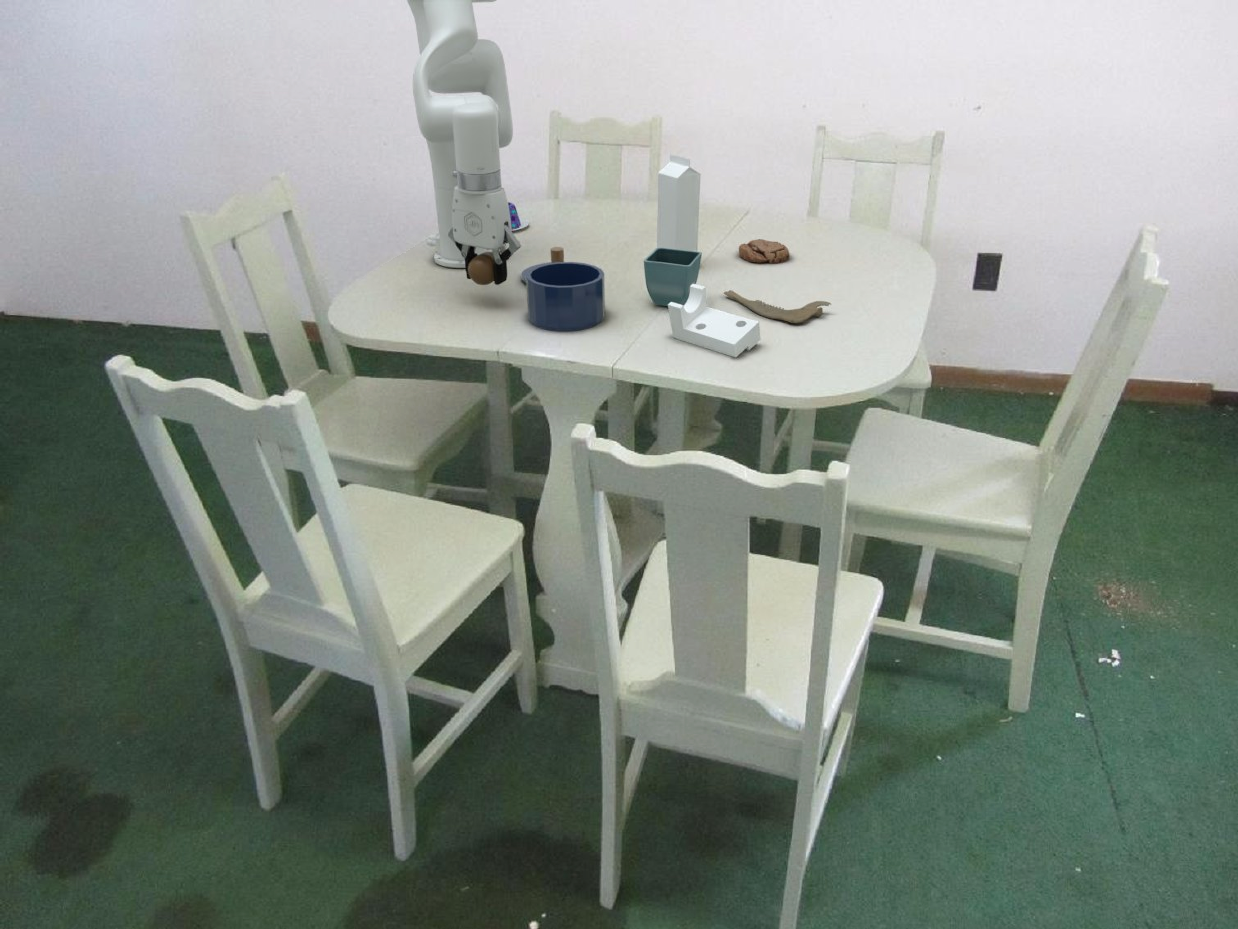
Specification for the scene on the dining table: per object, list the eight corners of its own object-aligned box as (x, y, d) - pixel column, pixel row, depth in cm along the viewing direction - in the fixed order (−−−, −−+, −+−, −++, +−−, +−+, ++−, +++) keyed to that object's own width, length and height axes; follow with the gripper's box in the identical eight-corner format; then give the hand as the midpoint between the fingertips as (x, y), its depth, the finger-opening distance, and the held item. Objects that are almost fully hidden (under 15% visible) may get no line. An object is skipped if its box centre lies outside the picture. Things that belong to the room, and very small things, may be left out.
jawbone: (816, 332, 158) (817, 321, 157) (706, 314, 166) (706, 304, 165) (830, 311, 164) (831, 300, 163) (724, 295, 173) (725, 285, 171)
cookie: (791, 264, 188) (792, 250, 187) (740, 264, 189) (741, 249, 187) (785, 249, 197) (787, 236, 195) (736, 249, 197) (737, 235, 196)
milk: (674, 273, 184) (677, 161, 173) (656, 265, 188) (657, 155, 177) (697, 267, 187) (701, 156, 176) (678, 259, 191) (681, 151, 180)
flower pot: (700, 297, 172) (702, 251, 167) (688, 313, 164) (690, 265, 160) (656, 292, 174) (657, 246, 169) (642, 308, 167) (642, 260, 162)
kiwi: (487, 291, 164) (485, 262, 161) (463, 286, 166) (460, 257, 163) (512, 277, 170) (510, 249, 167) (488, 272, 172) (486, 244, 169)
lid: (507, 284, 178) (505, 253, 175) (545, 263, 189) (544, 234, 186) (571, 296, 172) (570, 264, 169) (607, 273, 184) (607, 243, 180)
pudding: (512, 236, 206) (510, 213, 203) (467, 230, 210) (465, 207, 208) (538, 223, 215) (537, 201, 213) (495, 217, 220) (493, 195, 217)
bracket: (673, 341, 156) (667, 304, 151) (698, 320, 159) (693, 283, 154) (736, 362, 148) (732, 323, 143) (760, 339, 152) (757, 301, 147)
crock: (513, 323, 161) (511, 279, 157) (553, 299, 171) (552, 257, 167) (580, 336, 155) (579, 292, 151) (617, 310, 166) (617, 268, 162)
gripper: (426, 178, 158) (436, 278, 168) (509, 191, 151) (515, 294, 161) (452, 169, 164) (460, 265, 173) (532, 181, 157) (537, 281, 167)
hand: (486, 278), depth 167 cm, fingers closed on kiwi, 5 cm apart
